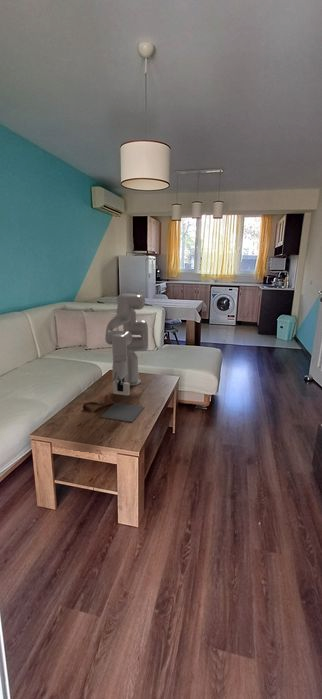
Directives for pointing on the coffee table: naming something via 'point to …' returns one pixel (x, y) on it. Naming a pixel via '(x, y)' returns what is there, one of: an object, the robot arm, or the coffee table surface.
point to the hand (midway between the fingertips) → (121, 389)
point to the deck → (125, 388)
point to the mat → (122, 412)
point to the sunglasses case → (98, 404)
